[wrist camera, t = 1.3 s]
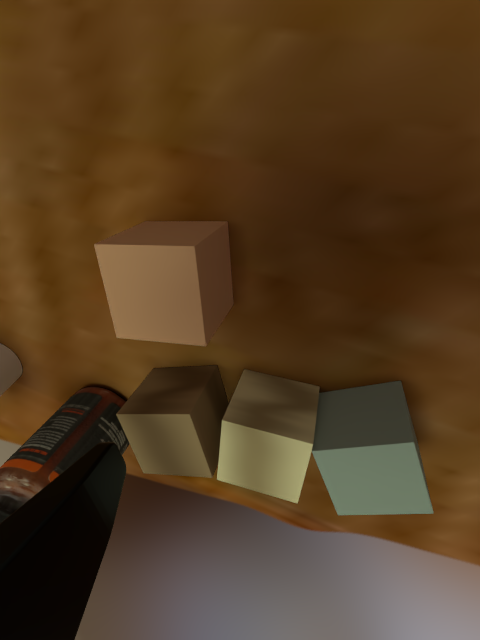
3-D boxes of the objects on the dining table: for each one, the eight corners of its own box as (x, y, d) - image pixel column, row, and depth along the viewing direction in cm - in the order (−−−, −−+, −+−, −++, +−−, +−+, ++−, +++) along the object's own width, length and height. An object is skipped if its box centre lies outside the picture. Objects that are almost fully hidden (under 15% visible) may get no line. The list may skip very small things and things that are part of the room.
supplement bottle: (63, 399, 30) (-72, 526, 21) (103, 371, 27) (-30, 503, 18) (111, 447, 32) (7, 588, 22) (154, 426, 29) (57, 576, 19)
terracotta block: (228, 221, 20) (194, 246, 15) (233, 304, 22) (206, 346, 18) (146, 220, 21) (94, 244, 17) (159, 299, 23) (116, 337, 19)
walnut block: (217, 364, 24) (189, 414, 20) (234, 421, 26) (212, 477, 22) (154, 367, 26) (116, 414, 22) (174, 420, 28) (143, 472, 24)
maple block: (320, 385, 23) (313, 444, 19) (306, 440, 25) (297, 503, 21) (244, 368, 24) (222, 420, 20) (238, 422, 26) (217, 479, 22)
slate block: (400, 379, 21) (413, 442, 17) (417, 442, 23) (433, 513, 19) (318, 392, 23) (311, 451, 19) (339, 449, 25) (338, 515, 21)
